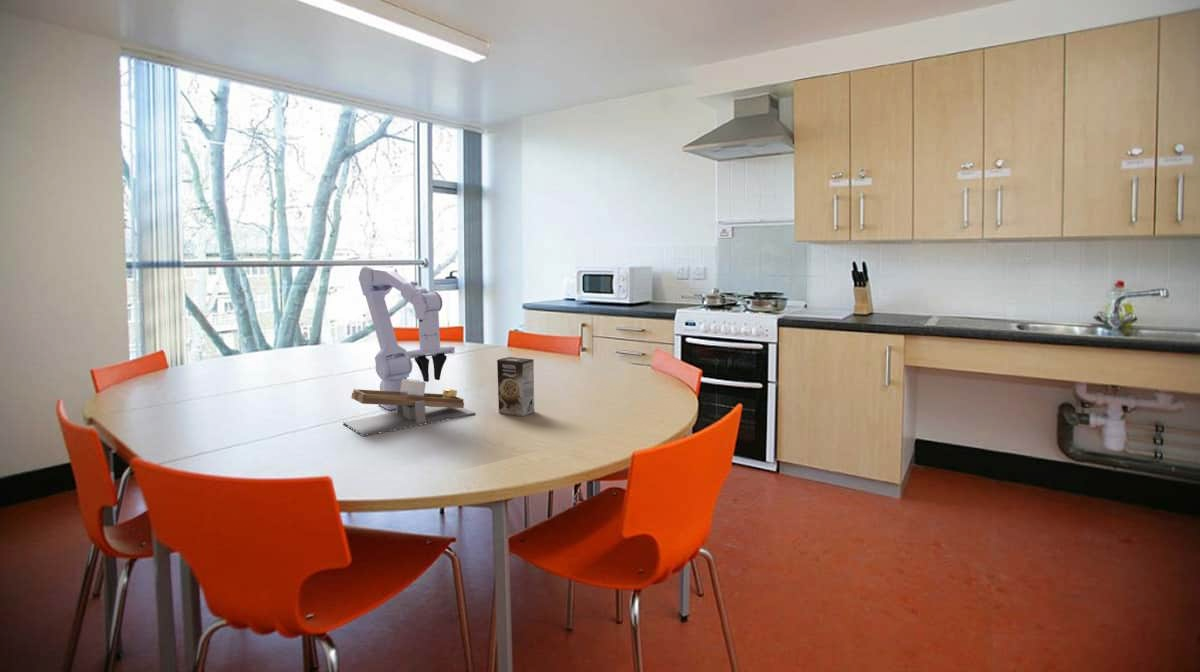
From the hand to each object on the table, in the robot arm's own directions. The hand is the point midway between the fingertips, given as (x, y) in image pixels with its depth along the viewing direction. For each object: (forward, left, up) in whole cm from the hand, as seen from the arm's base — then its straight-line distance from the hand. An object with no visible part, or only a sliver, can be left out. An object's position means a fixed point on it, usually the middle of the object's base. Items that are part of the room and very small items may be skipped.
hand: (431, 380), depth 187 cm
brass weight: (0, +5, -7) cm, 8 cm away
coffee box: (+14, +20, -11) cm, 27 cm away
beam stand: (0, -7, -10) cm, 13 cm away
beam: (0, -7, -5) cm, 9 cm away
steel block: (0, -6, -4) cm, 8 cm away
